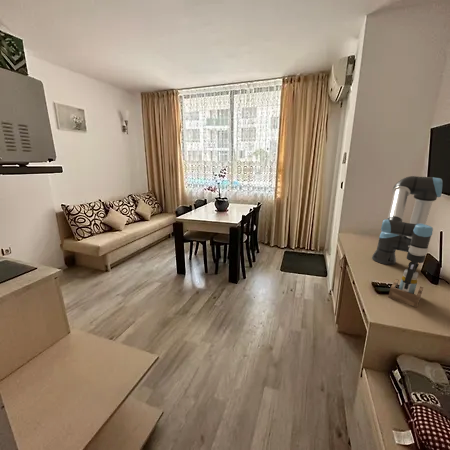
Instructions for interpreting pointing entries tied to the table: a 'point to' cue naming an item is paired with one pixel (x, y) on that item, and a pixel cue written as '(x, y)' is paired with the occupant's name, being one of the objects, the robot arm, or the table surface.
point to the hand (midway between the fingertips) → (406, 289)
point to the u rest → (404, 295)
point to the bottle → (413, 281)
